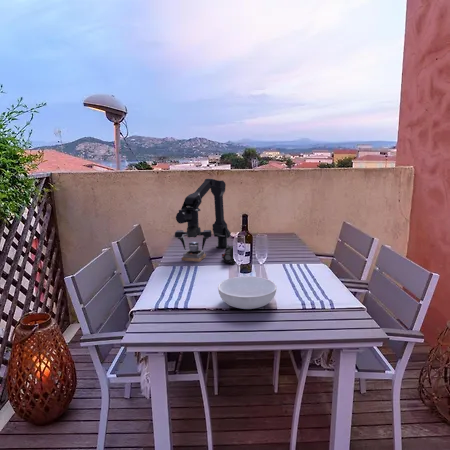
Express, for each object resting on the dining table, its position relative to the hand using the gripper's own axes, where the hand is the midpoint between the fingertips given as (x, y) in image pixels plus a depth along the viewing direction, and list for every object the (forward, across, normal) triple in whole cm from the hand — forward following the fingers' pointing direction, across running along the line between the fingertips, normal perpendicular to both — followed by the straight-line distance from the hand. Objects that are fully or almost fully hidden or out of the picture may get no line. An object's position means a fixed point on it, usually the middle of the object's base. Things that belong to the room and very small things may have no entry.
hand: (193, 249), depth 180 cm
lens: (+3, 0, 0) cm, 3 cm away
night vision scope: (+5, +19, -5) cm, 21 cm away
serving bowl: (+5, +25, -58) cm, 64 cm away
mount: (+5, 0, 0) cm, 5 cm away
